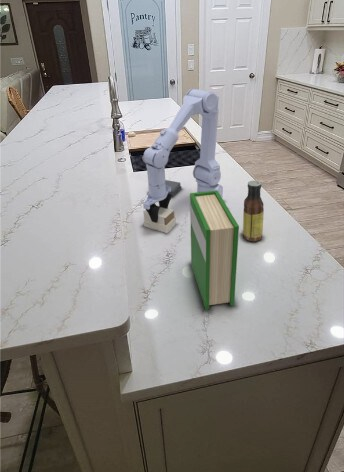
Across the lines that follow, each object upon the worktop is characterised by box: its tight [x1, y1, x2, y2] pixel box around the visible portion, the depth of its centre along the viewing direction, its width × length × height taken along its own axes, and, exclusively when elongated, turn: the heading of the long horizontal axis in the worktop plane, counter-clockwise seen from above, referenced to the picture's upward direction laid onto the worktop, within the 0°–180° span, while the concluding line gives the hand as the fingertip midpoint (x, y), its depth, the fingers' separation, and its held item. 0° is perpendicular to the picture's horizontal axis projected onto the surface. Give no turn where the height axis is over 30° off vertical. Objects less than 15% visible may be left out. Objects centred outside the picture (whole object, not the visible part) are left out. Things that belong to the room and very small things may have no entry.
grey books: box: [165, 179, 183, 198], centre depth 140 cm, size 11×8×3 cm
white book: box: [143, 207, 175, 225], centre depth 115 cm, size 9×6×3 cm, turn 60°
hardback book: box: [189, 190, 240, 311], centre depth 85 cm, size 18×7×24 cm, turn 9°
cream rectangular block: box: [143, 217, 177, 234], centre depth 116 cm, size 10×6×3 cm, turn 60°
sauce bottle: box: [242, 180, 265, 242], centre depth 104 cm, size 6×6×20 cm
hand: (159, 217), depth 115 cm, fingers closed on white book, 5 cm apart
